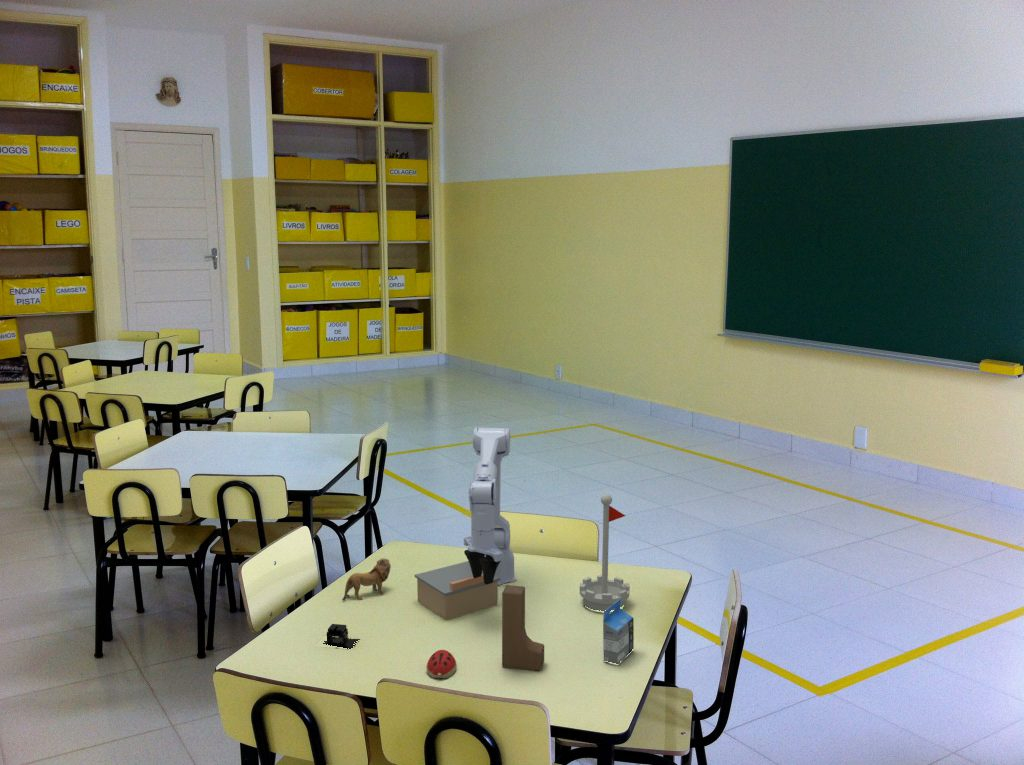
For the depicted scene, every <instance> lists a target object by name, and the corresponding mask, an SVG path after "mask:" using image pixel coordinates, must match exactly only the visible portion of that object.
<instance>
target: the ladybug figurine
mask: <svg viewBox="0 0 1024 765" xmlns="http://www.w3.org/2000/svg"><path fill="white" fill-rule="evenodd" d="M427 660H428V661H427V664H426V672H427V674H428V675H430V677H432V678H434V679H437V678H443V679H446V677H447V678H449V677H451V676H452V675H454V674H455V672H456V670H457V665H458V664H457V661H456V659H455V657H454V655H453V654H452V653H451V652H450V651H449V650H446V649H438V650H436V651H435V652H434V653H432V655H430V656H429V659H427Z"/></svg>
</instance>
